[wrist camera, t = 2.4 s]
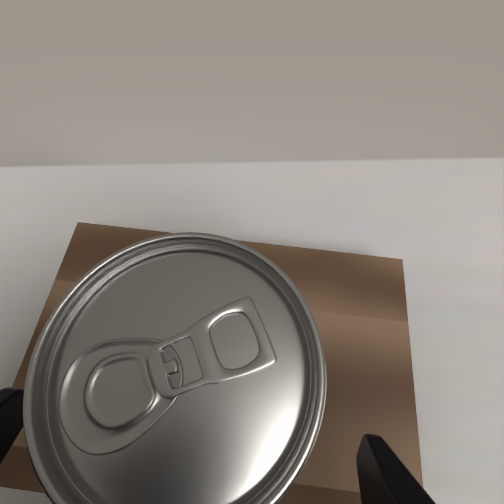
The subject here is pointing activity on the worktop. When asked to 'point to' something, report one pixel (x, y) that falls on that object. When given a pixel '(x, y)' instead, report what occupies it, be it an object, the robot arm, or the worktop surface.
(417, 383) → the worktop surface
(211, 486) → the can
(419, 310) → the worktop surface
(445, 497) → the worktop surface
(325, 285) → the socket block
